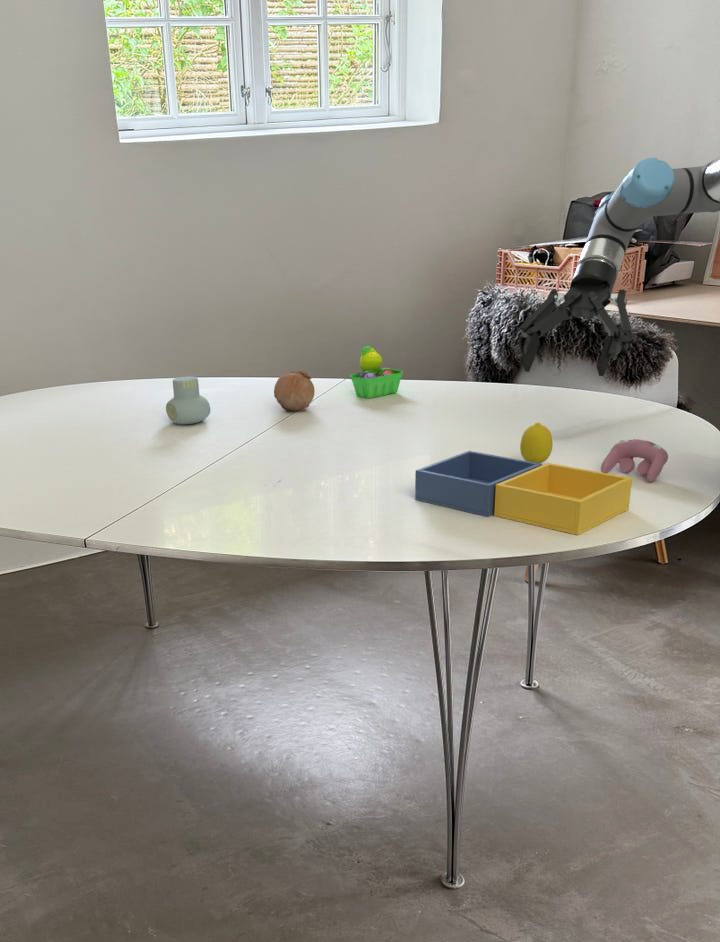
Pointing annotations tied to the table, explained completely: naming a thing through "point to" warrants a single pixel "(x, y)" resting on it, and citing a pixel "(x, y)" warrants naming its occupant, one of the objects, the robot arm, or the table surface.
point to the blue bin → (467, 481)
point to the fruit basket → (374, 376)
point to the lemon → (536, 443)
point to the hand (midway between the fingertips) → (561, 369)
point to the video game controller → (640, 449)
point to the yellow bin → (563, 498)
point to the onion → (294, 391)
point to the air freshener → (187, 402)
